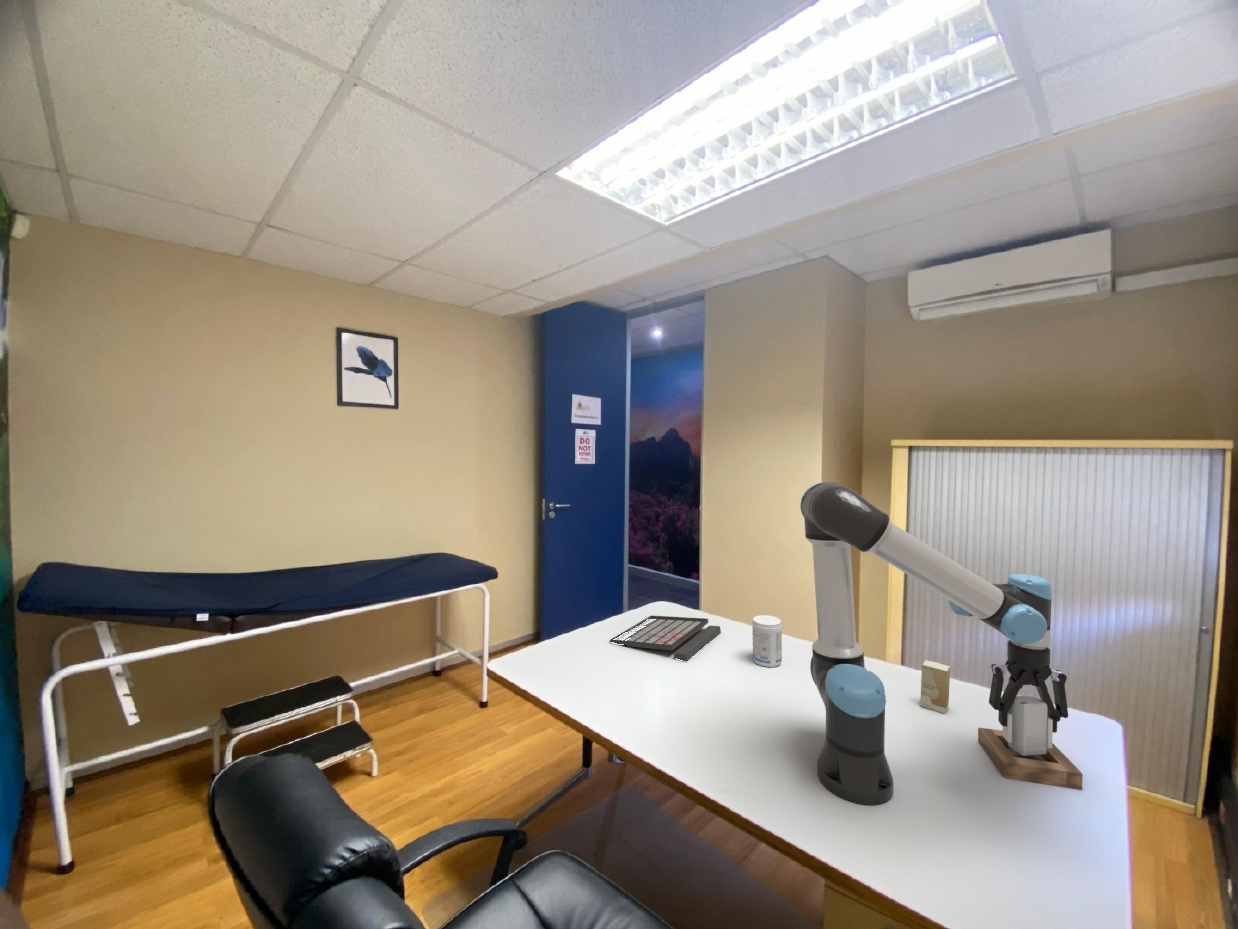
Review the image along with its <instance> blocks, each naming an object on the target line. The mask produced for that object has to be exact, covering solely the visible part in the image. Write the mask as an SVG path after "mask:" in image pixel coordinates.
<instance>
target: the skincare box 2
mask: <svg viewBox="0 0 1238 929" xmlns="http://www.w3.org/2000/svg"><path fill="white" fill-rule="evenodd" d="M1009 712H1010V713H1011V714H1012V743H1008V746H1009V747H1011V748H1012V749H1013V750H1015V751H1016V752H1018V753H1019V754H1021V755H1022V756H1029V755H1041V754H1047V714H1048V707H1047V704H1046V703H1045V702H1044V701H1042V700H1041V698H1038V697H1036V696H1034V695H1032V694H1028V695H1017V696H1016V698H1015V700H1014V702H1013V704H1012V706H1011V708H1010V710H1009Z"/></svg>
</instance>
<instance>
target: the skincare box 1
mask: <svg viewBox="0 0 1238 929" xmlns="http://www.w3.org/2000/svg"><path fill="white" fill-rule="evenodd" d="M950 678H951V666H950V665H946V664H942V663H939V662H935V661H931V660H928V659H925V660H924V661H923V662H922V664H921V680H920V682H921V683H920V684H921V685H920V704H919V705H920V707H923V708H925V709H929V710H932V711H934V712H937V713H941V714H945V715H946V713H947V712H948V710H949V705H950V704H949V703H950V702H949V700H950V680H951V679H950Z"/></svg>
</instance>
